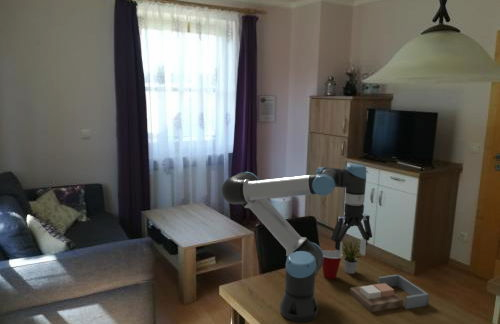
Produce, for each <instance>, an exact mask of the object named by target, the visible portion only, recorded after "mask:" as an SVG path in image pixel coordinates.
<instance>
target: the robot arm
mask: <svg viewBox="0 0 500 324" xmlns="http://www.w3.org/2000/svg"><path fill="white" fill-rule="evenodd" d="M366 184H367V167H366V166H365V165H363V164H357V163H355V164H354V163H352V164H351V163H350V164H348V165H347V167H346V168H335V167H327V166H324V167H323V166H319V167H317V169H316V171H315V174H307V175H297V176H289V177H279V178H270V179H269V178H267V179H259V177H258V176H257V175H256V174H254V173H253V172H250V171H243V172H239V173H237V174H235V175H233V176H231V177H229V178H227V179H226V180H225V181H224V182H223V184H222V186H221V194H222V197H223V199H224V200H225V201H226V202H227V203H228V204H231V205H242V206H243V207H244V209H249V210H251V212H252V213H253V214H254V215H255V216H256V217H257V219H258V220H259V222H261V223H262V225H264V226H265V228H266V229H267V230H268V231H269V232H270V233H271V234H272V236H273V237H274V238H275V239H276V240H277V241H278V242H279V244H280V245H281V246H282V247H283V249H285V252H286V254H285V256H286V261H285V279H284V283H285V284H284V294H283V295H282V298H281V301H280V304H279V312H280V314H281V316H282V317H283V318H285V319H287V320H288V321H289V320H290V321H293V322H296V323H297V322H298V323H305V322H306V323H307V322H310V321H313V320H314V319H315V318H316V317H317V316H318V314H319V313H318V311H319V308H318V304H317V301H316V296H315V285H316V277H317V275H318V273H319V271H320V270H321V268H322V264H323V258H324V257H323V252H322V251H323V250H322V248H321V246H319V244H317V243H315V242H312V241H310V240H309V239H308V238H307V237H305V236H304V237H303V236H301V235H300V234H299V233H298V232H297V231H296V230H295V228H294V227H293V226H292V225H291V224H290V223H289V222H288V220H287V219H285V217H284V216H283V215H282V214H281V212H279V210H278V209H277V208H276V207H275V205H273V203H272V202H271V201H270V200H269V199H276V198H286V197H287V198H289V197H298V196H310V195H318V196H322V197H323V196H325V197H326V196H328V195H329V194H331V193H332V192H333V191H334V190H335V188H343V189H345V194H344V202H345V203H344V207H343V210H344V215H343V216H337V217H336V224H335V227H334V230H333V233H332V235H331V237H330V238H331V240H332V241H333V242H335V245H334V248H335V250H336V252H337V253H336V256H337V257H339V258H341V259H342V257H343V256H342V255H343V253H342V252H343V248H342V244H343V243H342V242H343V241H342V240H343V239H344V237H345V235H346V234H347V232H348V230H349V229H351V227H357V228H358V230H359V232H360V235H361V237H360V240H361V241H360V240H359V241H360V242H359V246H360V248H359V249H360V250H359V254H362V255H363V256H366V247H367V246H368V241H369V240H370V238H371V239H372V238H373V231H372V227H371V224H370V217H371V216H370V215H368V214H366V213H364V211H365V198H366V197H365V196H366V188H367V187H366V186H367V185H366ZM362 220H363V222H362ZM362 255H361V256H362ZM316 319H317V318H316Z"/></svg>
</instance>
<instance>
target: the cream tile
mask: <svg viewBox="0 0 500 324" xmlns="http://www.w3.org/2000/svg"><path fill="white" fill-rule="evenodd" d="M368 285H369V286H366V285H362V286H363V287H361V288H360V293H362V294H363V295H364V296H365V297H366V298H368V299H373V298H379V297H381V291H380V290H378V289H377V288H376V287H374V286H373V284H368Z"/></svg>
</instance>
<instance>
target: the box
mask: <svg viewBox="0 0 500 324" xmlns="http://www.w3.org/2000/svg"><path fill="white" fill-rule="evenodd" d="M377 278H378V279H377V284H379V283H381V284H383V283H385V284H387V285H388V286H390V287H391V288H392V287H398V288H400V289H401V290H402V291H404V292H406V293H407V294H408V295H406V296H405V299H404V306H403V307H404V308H405V309H406V310H409V309H414V308H415V309H416V308H421V307H426V306H428V305H429V298H430V294H429V293H428V292H426V291H425V290H423V289H422V288H421V287H418V286H417V285H416V284H414V283H413V282H411V281H410V280H408V279H406V278H405V277H403V276H402V275H400V274H399V273H398V274H392V275H391V274H390V275H384V276H378V277H377Z"/></svg>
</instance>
